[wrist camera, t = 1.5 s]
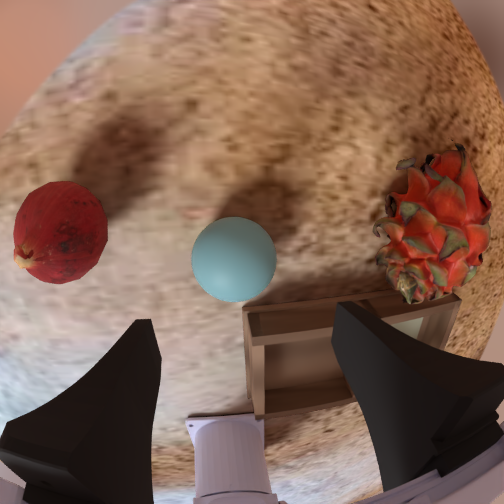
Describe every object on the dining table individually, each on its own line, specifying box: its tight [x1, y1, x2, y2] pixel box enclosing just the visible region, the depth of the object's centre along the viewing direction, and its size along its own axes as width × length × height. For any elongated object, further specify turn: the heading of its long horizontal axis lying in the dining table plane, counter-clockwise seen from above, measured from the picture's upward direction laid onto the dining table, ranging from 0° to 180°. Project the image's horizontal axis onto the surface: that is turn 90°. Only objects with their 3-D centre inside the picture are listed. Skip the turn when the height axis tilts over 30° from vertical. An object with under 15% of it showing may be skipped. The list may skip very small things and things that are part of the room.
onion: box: [13, 181, 108, 284], centre depth 14 cm, size 6×6×8 cm
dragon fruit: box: [373, 140, 492, 304], centre depth 18 cm, size 8×8×12 cm
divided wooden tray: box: [242, 289, 462, 420], centre depth 23 cm, size 10×19×3 cm, turn 92°
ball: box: [191, 217, 277, 302], centre depth 18 cm, size 5×5×5 cm
